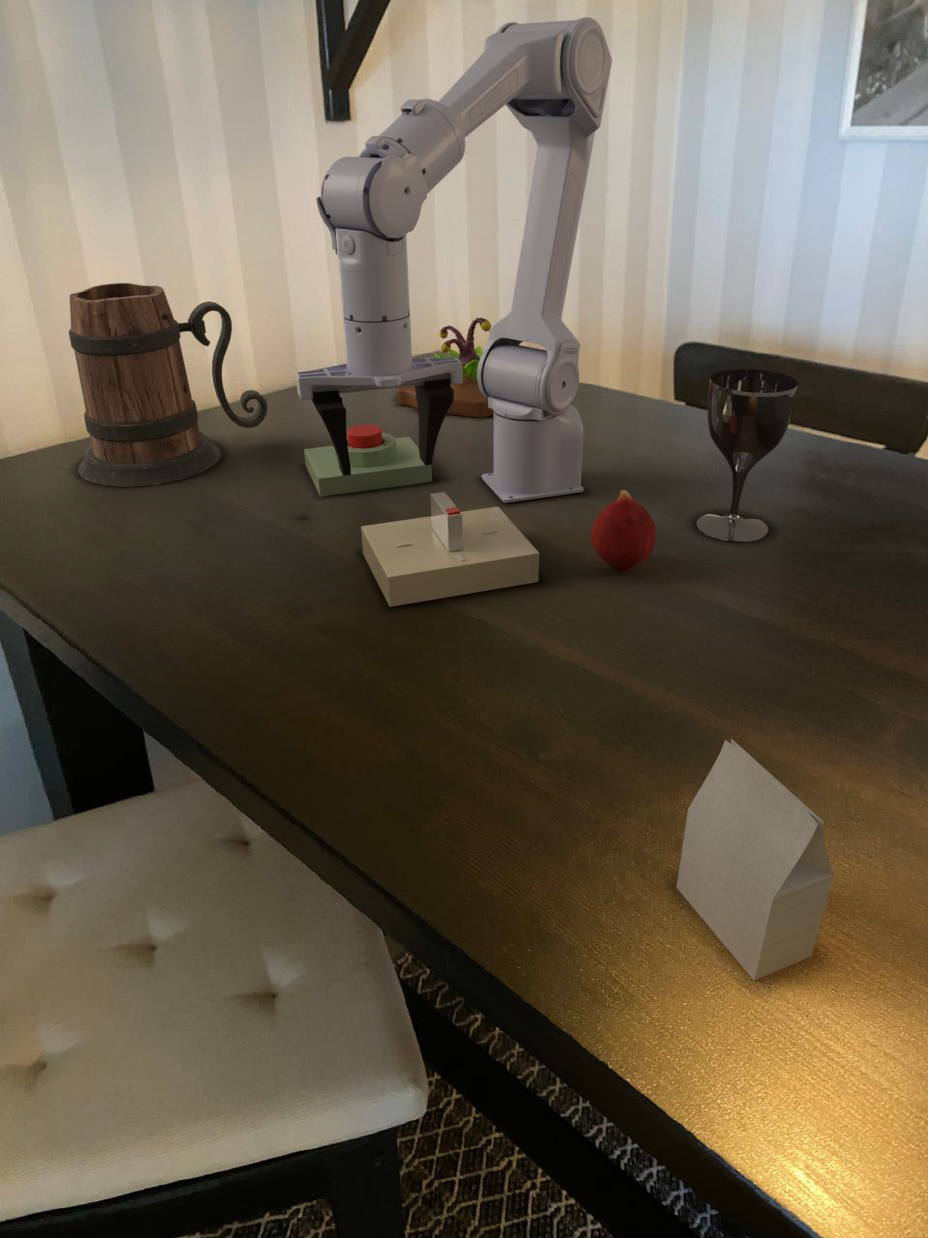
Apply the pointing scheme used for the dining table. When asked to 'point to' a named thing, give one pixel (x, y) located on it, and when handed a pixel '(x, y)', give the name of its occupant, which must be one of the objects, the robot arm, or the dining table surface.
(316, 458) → the button block
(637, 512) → the onion
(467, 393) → the plant
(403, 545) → the plate
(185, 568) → the dining table surface
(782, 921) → the tea bag
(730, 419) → the wine glass
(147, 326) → the tankard
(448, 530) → the switch box
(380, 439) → the button
